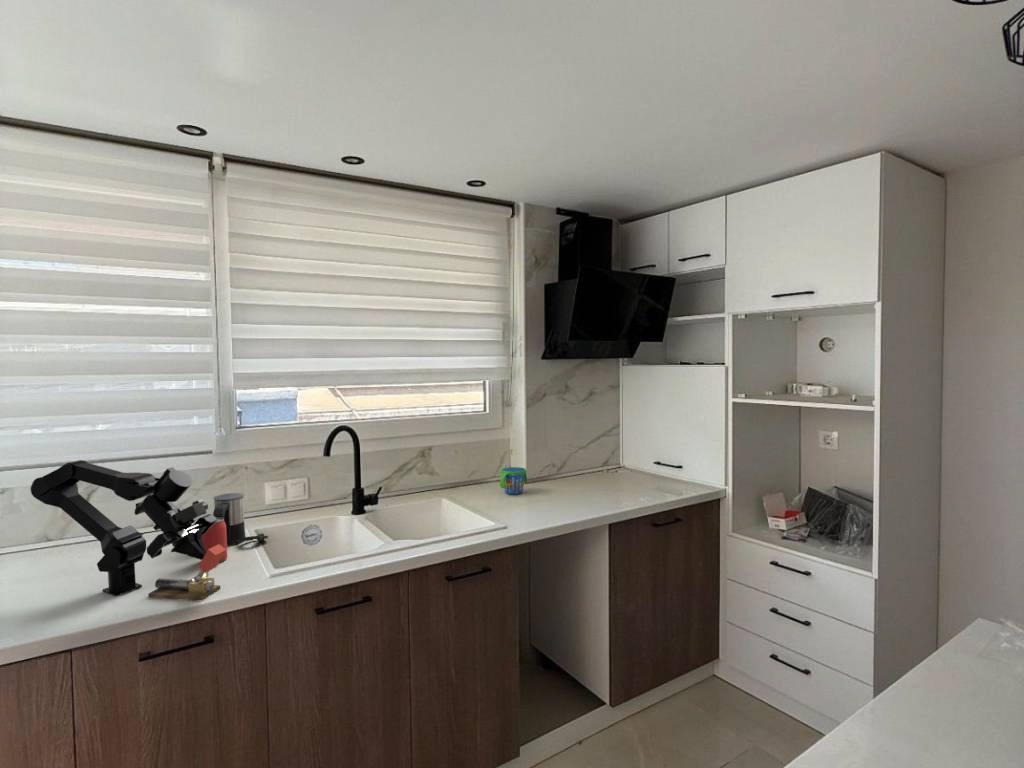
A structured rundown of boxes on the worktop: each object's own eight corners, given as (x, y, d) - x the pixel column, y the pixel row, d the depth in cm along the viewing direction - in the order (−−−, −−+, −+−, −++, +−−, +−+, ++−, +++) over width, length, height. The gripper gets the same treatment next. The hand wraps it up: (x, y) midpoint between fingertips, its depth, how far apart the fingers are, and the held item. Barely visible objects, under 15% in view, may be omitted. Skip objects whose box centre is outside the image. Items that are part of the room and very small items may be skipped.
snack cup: (518, 487, 252) (517, 464, 252) (535, 491, 245) (535, 468, 244) (491, 494, 241) (491, 470, 241) (509, 498, 234) (509, 474, 233)
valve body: (152, 592, 143) (152, 580, 143) (164, 585, 147) (164, 574, 147) (205, 595, 141) (205, 583, 141) (216, 588, 145) (215, 577, 145)
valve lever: (190, 579, 141) (208, 549, 140) (201, 573, 145) (218, 544, 144) (198, 585, 141) (215, 555, 140) (209, 578, 145) (226, 549, 144)
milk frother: (215, 539, 186) (214, 494, 186) (268, 532, 193) (266, 489, 192) (211, 553, 173) (209, 504, 173) (268, 545, 179) (266, 498, 179)
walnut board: (148, 597, 142) (148, 593, 142) (169, 586, 149) (169, 582, 148) (201, 600, 139) (201, 596, 139) (220, 589, 146) (220, 585, 146)
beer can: (221, 555, 171) (219, 515, 171) (231, 559, 167) (229, 519, 166) (198, 561, 166) (196, 520, 166) (208, 566, 162) (206, 524, 161)
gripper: (155, 501, 133) (200, 550, 132) (209, 483, 152) (249, 525, 151) (126, 534, 135) (171, 582, 134) (183, 512, 153) (223, 554, 152)
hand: (206, 559), depth 142 cm, fingers closed, pressing on valve lever
